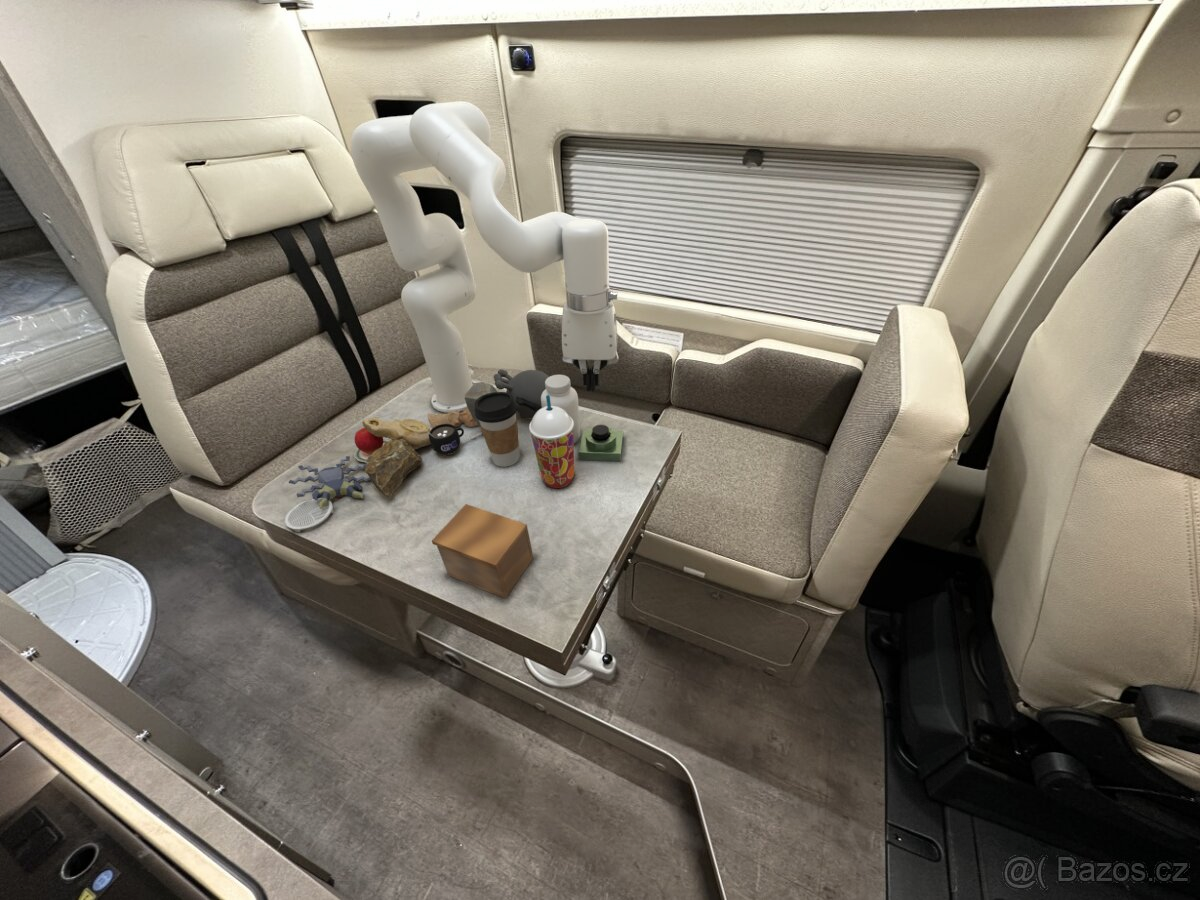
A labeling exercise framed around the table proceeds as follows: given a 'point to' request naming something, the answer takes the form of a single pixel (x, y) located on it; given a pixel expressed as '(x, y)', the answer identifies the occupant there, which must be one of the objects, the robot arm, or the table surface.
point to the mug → (446, 438)
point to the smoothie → (553, 444)
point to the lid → (480, 535)
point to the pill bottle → (563, 399)
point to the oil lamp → (400, 430)
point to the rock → (391, 465)
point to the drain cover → (314, 514)
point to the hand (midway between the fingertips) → (591, 387)
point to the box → (491, 568)
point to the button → (600, 432)
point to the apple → (367, 444)
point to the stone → (477, 396)
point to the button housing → (601, 446)
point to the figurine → (452, 419)
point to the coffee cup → (499, 426)
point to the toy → (332, 482)
